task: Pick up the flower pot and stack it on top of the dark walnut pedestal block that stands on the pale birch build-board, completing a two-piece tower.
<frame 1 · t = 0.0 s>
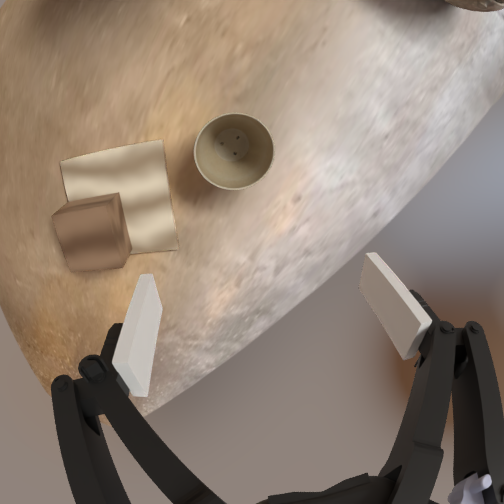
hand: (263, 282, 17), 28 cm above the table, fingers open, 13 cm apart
flower pot: (232, 144, 39), on the table
pedestal: (99, 225, 41), point 1 cm above the table, touching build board
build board: (118, 202, 41), on the table
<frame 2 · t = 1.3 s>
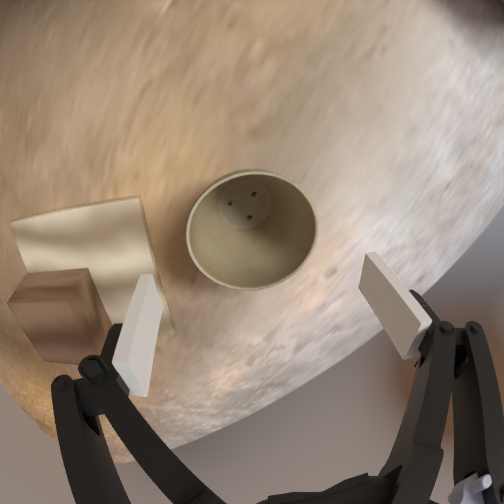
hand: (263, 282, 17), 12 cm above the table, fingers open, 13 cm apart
flower pot: (244, 202, 27), on the table
pedestal: (70, 303, 29), point 1 cm above the table, touching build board
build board: (89, 277, 29), on the table
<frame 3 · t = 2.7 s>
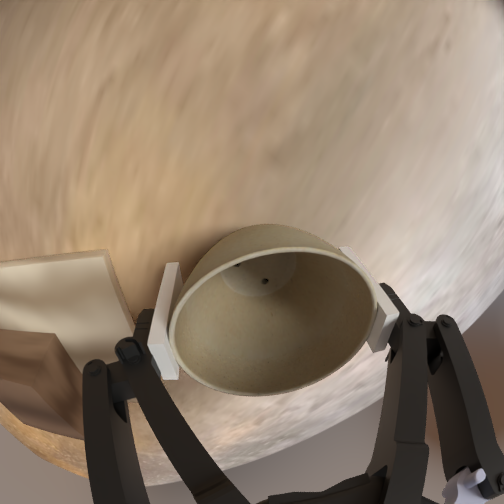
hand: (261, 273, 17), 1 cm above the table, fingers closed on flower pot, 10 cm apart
flower pot: (258, 260, 19), on the table, touching gripper
pedestal: (43, 364, 21), point 1 cm above the table, touching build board
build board: (60, 340, 20), on the table
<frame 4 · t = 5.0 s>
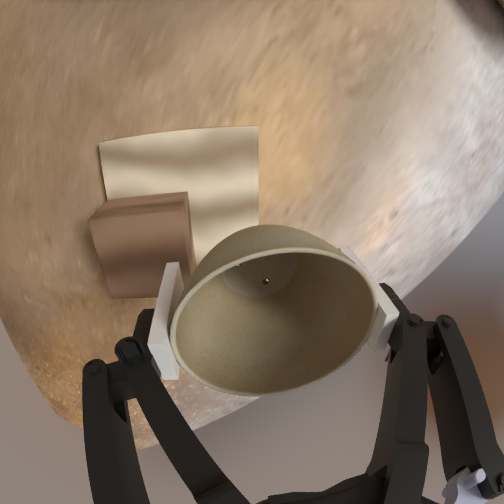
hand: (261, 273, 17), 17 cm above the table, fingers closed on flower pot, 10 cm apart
flower pot: (259, 260, 19), point 16 cm above the table, touching gripper
pedestal: (152, 233, 32), point 1 cm above the table, touching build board
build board: (181, 205, 32), on the table
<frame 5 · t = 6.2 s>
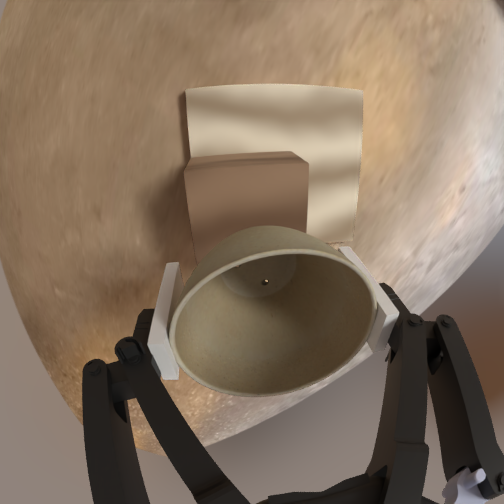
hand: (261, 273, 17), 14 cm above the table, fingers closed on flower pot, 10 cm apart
flower pot: (258, 261, 19), point 13 cm above the table, touching gripper
pedestal: (244, 200, 29), point 1 cm above the table, touching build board
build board: (279, 168, 28), on the table
when the fingers open (10 cm above the table, at t = 7.4 s): flower pot drops 2 cm, resting on pedestal.
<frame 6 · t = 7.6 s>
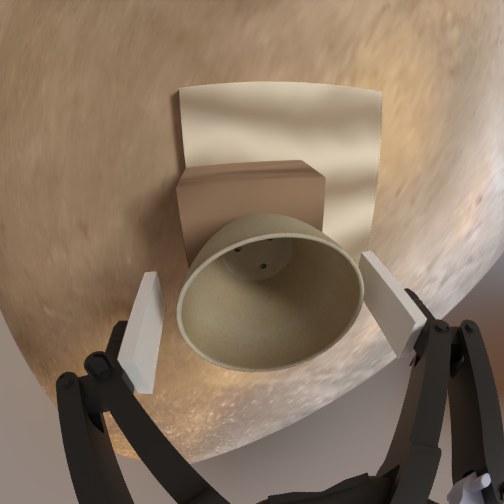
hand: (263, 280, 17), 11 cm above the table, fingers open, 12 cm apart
flower pot: (257, 246, 20), point 7 cm above the table, touching pedestal
pedestal: (247, 216, 25), point 1 cm above the table, touching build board, flower pot
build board: (287, 179, 25), on the table
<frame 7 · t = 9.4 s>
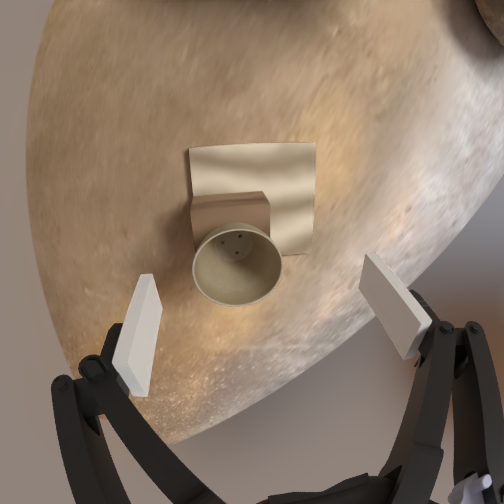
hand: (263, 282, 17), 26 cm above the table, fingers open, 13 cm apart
flower pot: (233, 241, 37), point 7 cm above the table, touching pedestal
pedestal: (230, 225, 42), point 1 cm above the table, touching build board, flower pot
bowl: (489, 17, 24), on the table
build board: (255, 202, 42), on the table
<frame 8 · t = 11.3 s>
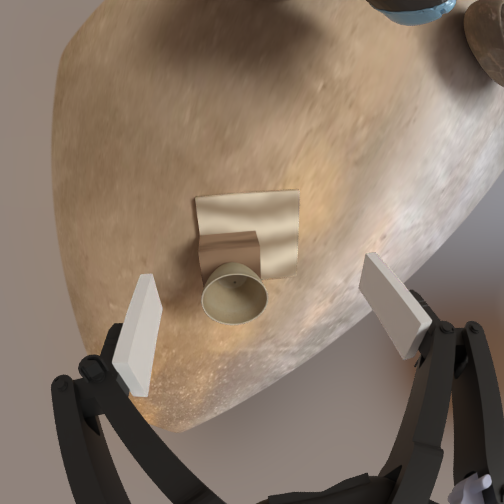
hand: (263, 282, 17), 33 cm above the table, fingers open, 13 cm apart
flower pot: (232, 274, 47), point 7 cm above the table, touching pedestal
pedestal: (229, 256, 52), point 1 cm above the table, touching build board, flower pot
bowl: (479, 44, 32), on the table
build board: (249, 238, 52), on the table
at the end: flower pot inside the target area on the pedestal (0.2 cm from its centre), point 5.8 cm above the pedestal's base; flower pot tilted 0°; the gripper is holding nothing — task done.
